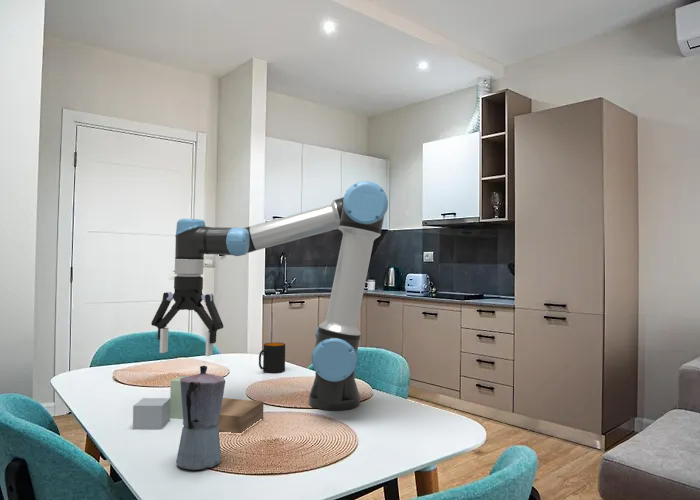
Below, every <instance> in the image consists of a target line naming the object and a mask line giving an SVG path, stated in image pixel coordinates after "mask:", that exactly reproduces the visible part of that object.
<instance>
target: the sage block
mask: <svg viewBox="0 0 700 500" xmlns="http://www.w3.org/2000/svg"><path fill="white" fill-rule="evenodd" d="M187 376H188V375H180V376H179V377H176V378H173V379H171V380H170V389H169V390H170V397H169V398H171V399H170V419H176V420H183V412H182V398H181V383H180V379H181V378H183V377H187Z"/></svg>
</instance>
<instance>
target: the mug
mask: <svg viewBox="0 0 700 500" xmlns="http://www.w3.org/2000/svg"><path fill="white" fill-rule="evenodd" d="M258 354H259V355H258V367H259V369H261V370H262V371H263V373H265V374H283V373H285V371H286V343H283V342H266V343H263V349H262V350H261V351H260V352H259V353H258ZM262 354H263V361H262Z"/></svg>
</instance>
